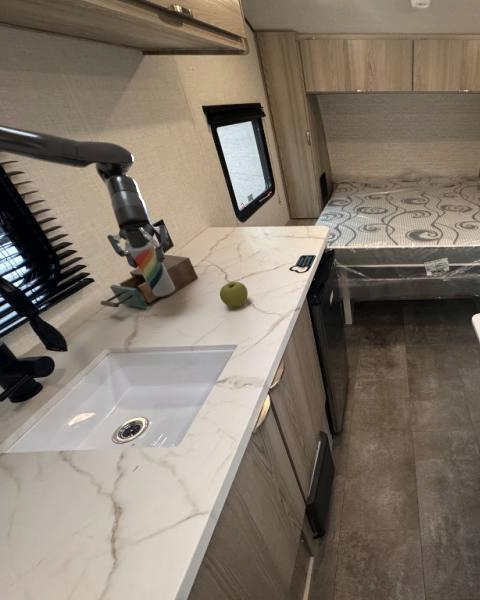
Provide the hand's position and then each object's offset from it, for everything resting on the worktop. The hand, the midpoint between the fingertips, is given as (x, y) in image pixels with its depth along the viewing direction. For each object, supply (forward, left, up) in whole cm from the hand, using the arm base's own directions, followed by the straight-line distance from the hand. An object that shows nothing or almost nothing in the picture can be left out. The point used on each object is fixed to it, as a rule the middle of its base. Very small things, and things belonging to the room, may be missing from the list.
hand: (148, 264), depth 92 cm
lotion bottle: (+1, +1, -10) cm, 11 cm away
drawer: (+3, +17, -17) cm, 25 cm away
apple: (+10, -16, -18) cm, 26 cm away
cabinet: (+14, +17, -18) cm, 29 cm away
